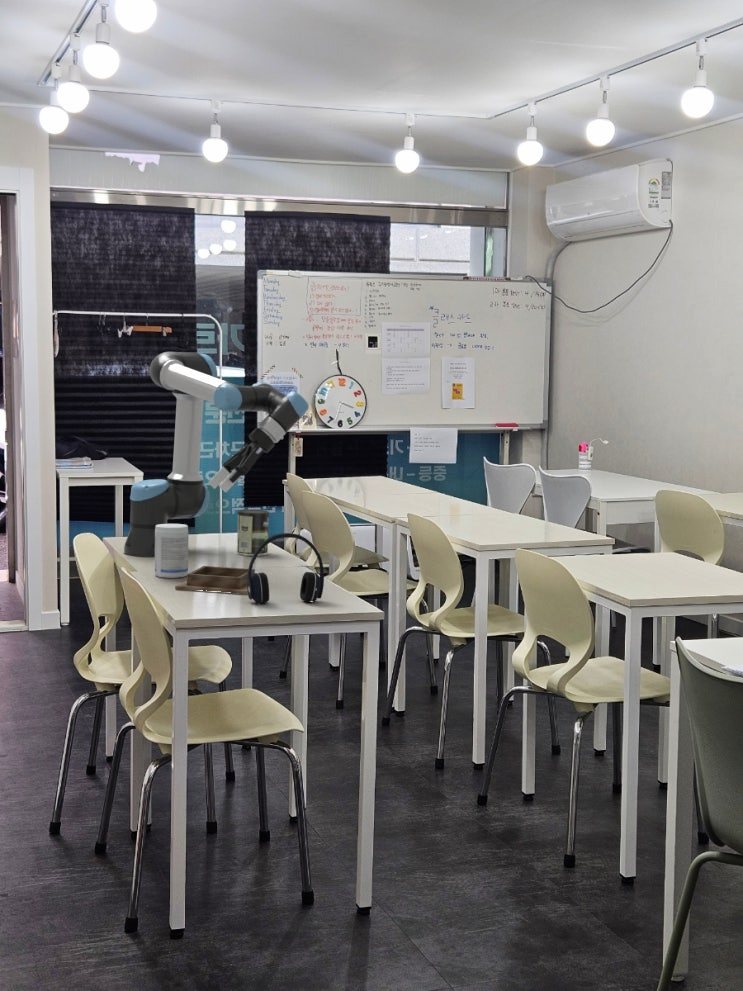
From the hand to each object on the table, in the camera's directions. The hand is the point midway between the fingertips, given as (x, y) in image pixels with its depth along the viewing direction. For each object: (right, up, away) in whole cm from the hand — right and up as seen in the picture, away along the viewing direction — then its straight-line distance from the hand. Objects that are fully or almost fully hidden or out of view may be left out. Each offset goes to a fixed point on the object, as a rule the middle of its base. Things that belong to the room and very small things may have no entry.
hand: (216, 487), depth 343 cm
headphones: (+22, -31, -34) cm, 51 cm away
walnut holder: (+3, -27, -15) cm, 31 cm away
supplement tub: (-13, -26, -2) cm, 29 cm away
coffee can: (+6, -22, +44) cm, 49 cm away
